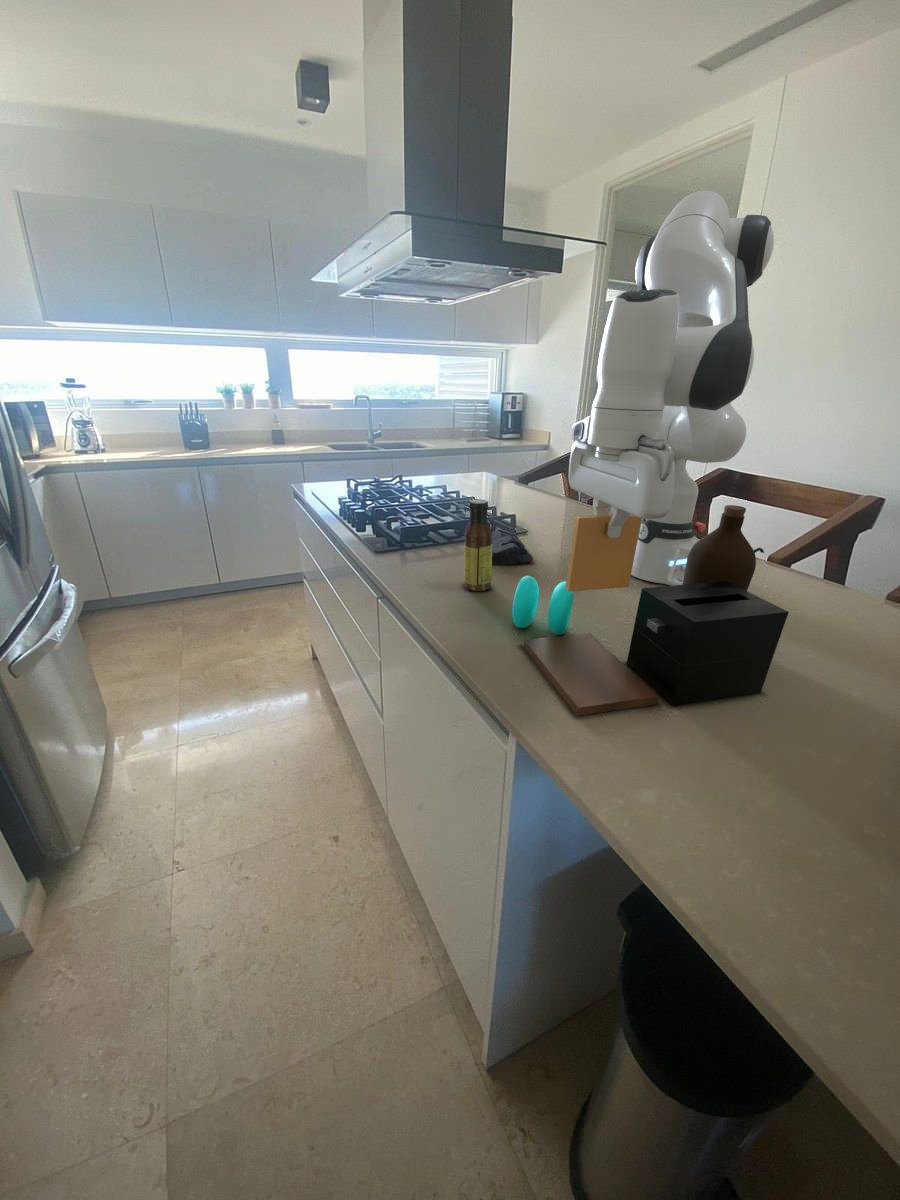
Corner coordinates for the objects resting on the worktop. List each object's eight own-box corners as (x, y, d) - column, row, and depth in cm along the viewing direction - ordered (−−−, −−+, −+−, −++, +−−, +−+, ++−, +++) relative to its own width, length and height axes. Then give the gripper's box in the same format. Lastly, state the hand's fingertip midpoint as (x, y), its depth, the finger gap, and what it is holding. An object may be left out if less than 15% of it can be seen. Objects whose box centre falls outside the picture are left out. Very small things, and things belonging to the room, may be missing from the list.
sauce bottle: (491, 582, 114) (496, 498, 106) (490, 593, 108) (496, 505, 100) (463, 581, 114) (466, 496, 106) (461, 591, 109) (464, 503, 100)
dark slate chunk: (521, 540, 145) (523, 524, 143) (534, 566, 125) (536, 548, 123) (470, 539, 145) (471, 523, 143) (474, 564, 125) (475, 547, 123)
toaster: (705, 654, 86) (726, 580, 80) (760, 692, 75) (789, 611, 70) (617, 665, 82) (632, 588, 76) (662, 707, 71) (684, 623, 65)
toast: (624, 584, 75) (637, 513, 70) (628, 587, 74) (642, 515, 69) (565, 588, 72) (575, 516, 68) (568, 591, 71) (579, 518, 67)
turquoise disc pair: (562, 645, 87) (570, 594, 83) (508, 635, 90) (513, 585, 86) (570, 622, 96) (577, 575, 92) (520, 613, 99) (525, 567, 95)
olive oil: (704, 658, 85) (744, 517, 74) (657, 631, 93) (686, 502, 83) (744, 646, 89) (787, 511, 79) (695, 622, 98) (728, 498, 87)
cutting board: (588, 639, 90) (590, 632, 89) (656, 704, 72) (658, 695, 71) (523, 647, 87) (524, 639, 86) (576, 716, 69) (578, 707, 68)
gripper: (698, 441, 55) (672, 556, 61) (604, 425, 73) (590, 515, 79) (650, 441, 54) (628, 559, 60) (566, 425, 72) (555, 516, 78)
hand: (606, 533), depth 70 cm, fingers closed on toast, 1 cm apart
